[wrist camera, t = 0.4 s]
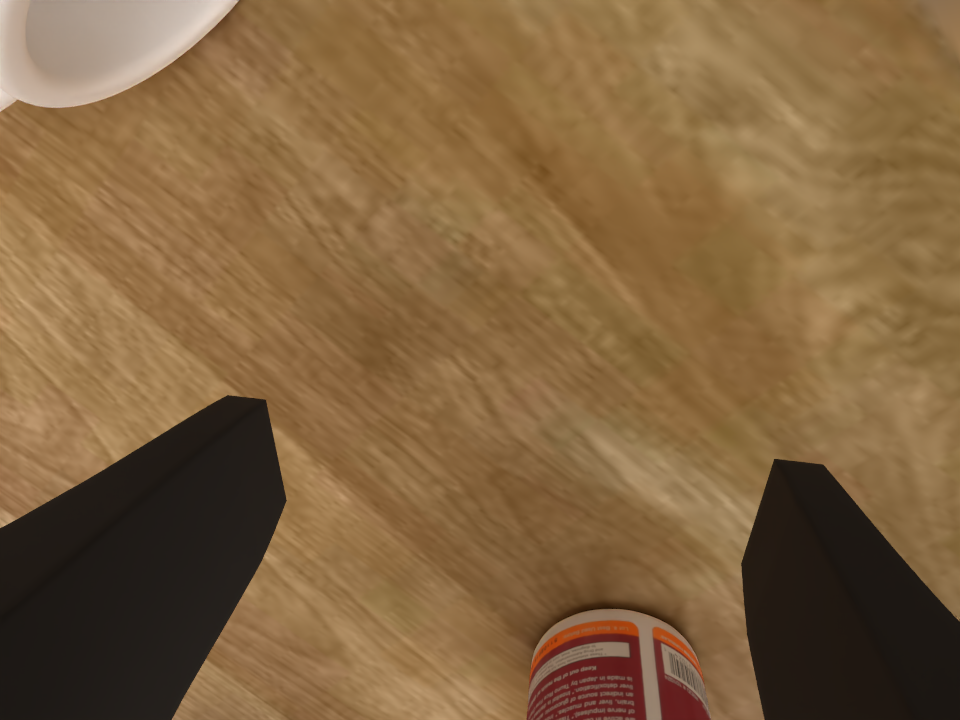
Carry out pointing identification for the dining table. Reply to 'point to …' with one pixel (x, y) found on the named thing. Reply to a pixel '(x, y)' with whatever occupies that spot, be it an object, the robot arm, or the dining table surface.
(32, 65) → the mug
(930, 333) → the dining table surface
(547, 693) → the pill bottle
